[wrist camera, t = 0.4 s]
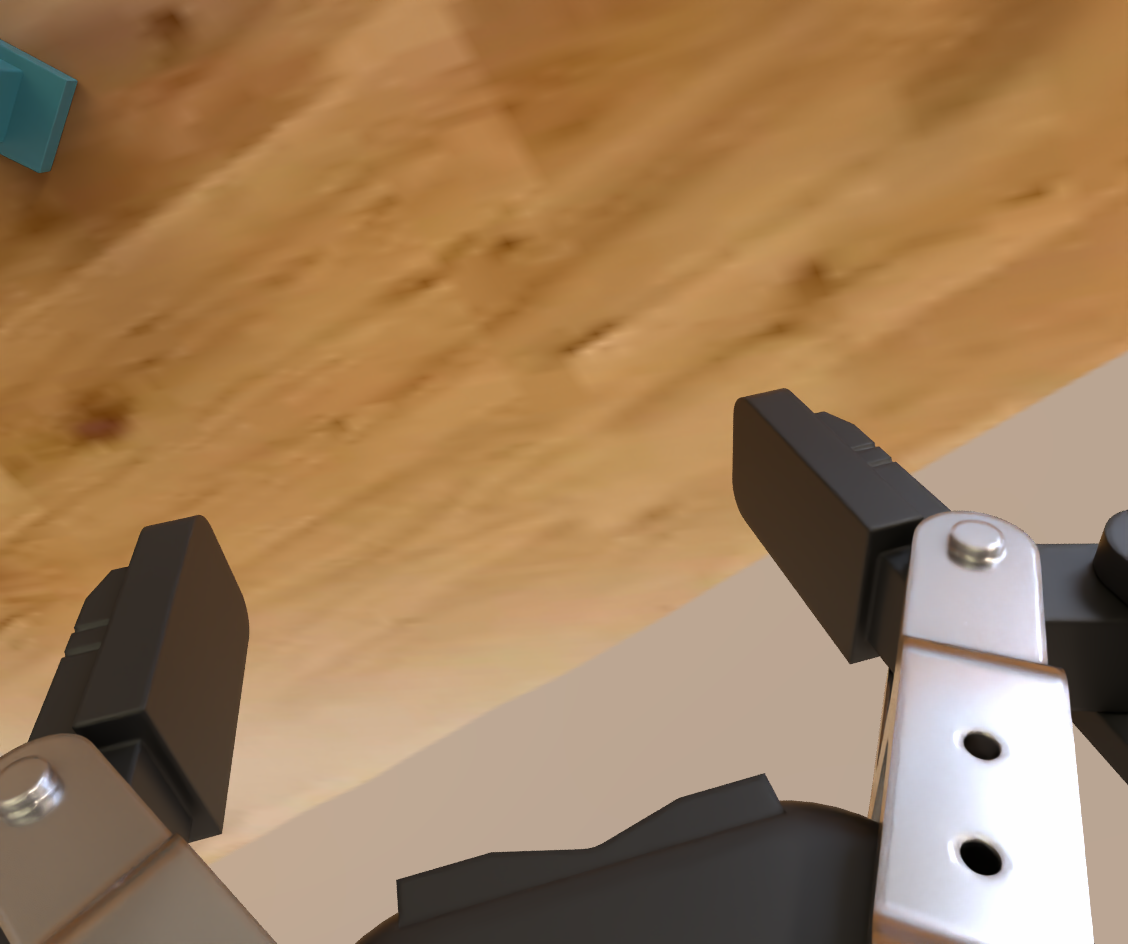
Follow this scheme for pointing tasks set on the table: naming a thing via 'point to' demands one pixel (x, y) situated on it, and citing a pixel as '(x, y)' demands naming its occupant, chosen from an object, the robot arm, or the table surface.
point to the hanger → (31, 108)
